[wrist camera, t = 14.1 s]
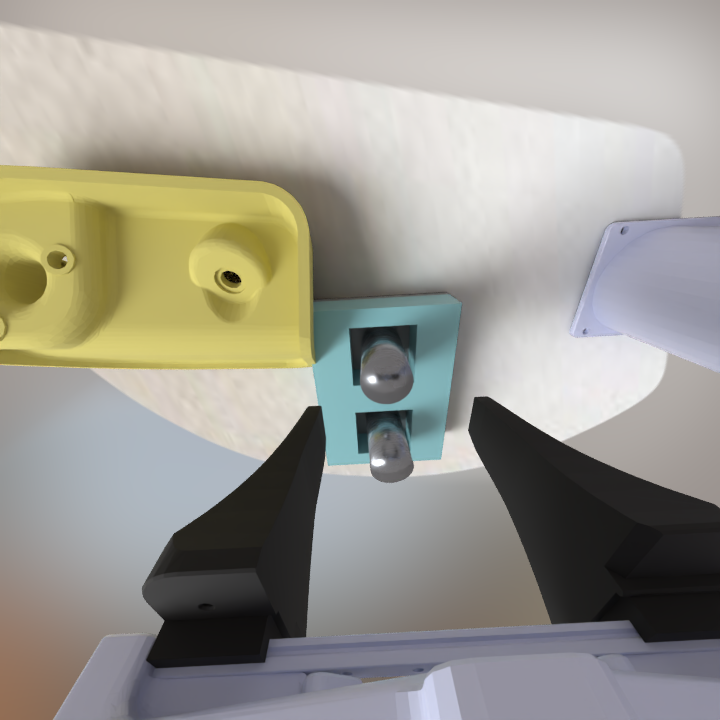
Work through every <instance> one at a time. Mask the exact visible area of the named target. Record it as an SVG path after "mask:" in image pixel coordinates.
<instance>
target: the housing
mask: <svg viewBox="0 0 720 720" xmlns="http://www.w3.org/2000/svg"><path fill="white" fill-rule="evenodd" d="M461 308H462V303H461V302H460V301H458V300H457V299H455V298H454V297H453V296H451V295H450V294H449V293H447V292H442V293H425V294H407V295H390V296H372V297H355V298H337V299H320V300H313V324H314V348H315V358H316V364H312V366H313V373H314V379H315V385H316V392H317V398H318V404H319V406H321V407H322V413H323V420H324V426H325V433H326V455H327V462H328V466H330V465H348V464H366V463H370V458H369V448H368V438H367V428H366V418H365V412H377V411H395V410H398V411H399V414H400V418H401V421H402V425H403V428H404V432H405V436H406V439H407V443H408V446H409V450H410V453H411V457H412V460H413V461H421V460H439V459H441V456H442V448H443V441H444V433H445V426H446V419H447V411H448V404H449V396H450V389H451V382H452V374H453V367H454V359H455V352H456V345H457V337H458V330H459V322H460V315H461ZM383 326H390V327H392V328H394V329H395V330H396V331H397V332H398V334H399V336H400V339H401V342H402V345H403V348H404V351H405V353H406V356H407V359H408V362H409V365H410V368H411V371H412V374H413V379H414V382H413V387H412V389H411V391H410V393H409V394H408V395H407V396H406V397H405V398H404V399H402V400H401V401H399V402H396V403H393V404H379V403H376V402H373V401H372V400H370V399H369V398H367V397H366V396H365V394H364V393H363V391H362V389H361V386H360V373H361V352H362V339H363V336H364V334H365V333H366V332H367V330H369V329H370V328H371V327H383Z"/></svg>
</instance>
